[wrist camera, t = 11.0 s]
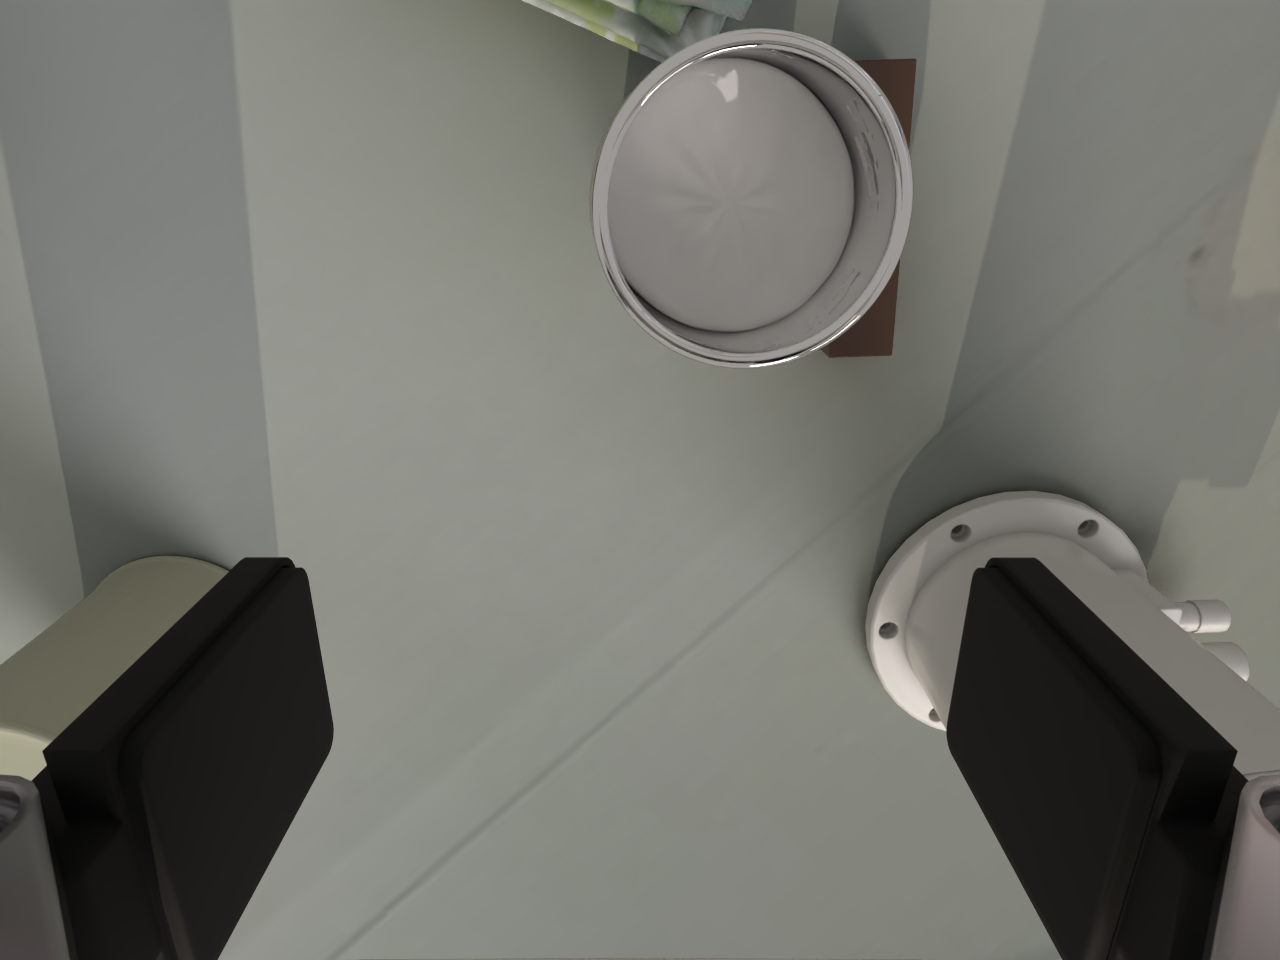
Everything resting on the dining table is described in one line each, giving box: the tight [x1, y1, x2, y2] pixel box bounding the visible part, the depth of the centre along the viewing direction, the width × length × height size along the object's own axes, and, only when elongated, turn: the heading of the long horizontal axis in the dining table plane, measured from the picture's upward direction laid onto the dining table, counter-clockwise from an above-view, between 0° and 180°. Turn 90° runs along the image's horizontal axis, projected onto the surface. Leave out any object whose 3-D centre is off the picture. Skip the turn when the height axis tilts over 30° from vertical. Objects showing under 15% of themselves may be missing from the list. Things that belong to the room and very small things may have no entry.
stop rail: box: [821, 59, 916, 358], centre depth 29 cm, size 2×10×2 cm, turn 2°
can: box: [0, 556, 229, 781], centre depth 31 cm, size 9×9×12 cm
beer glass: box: [589, 28, 913, 369], centre depth 23 cm, size 7×7×15 cm
